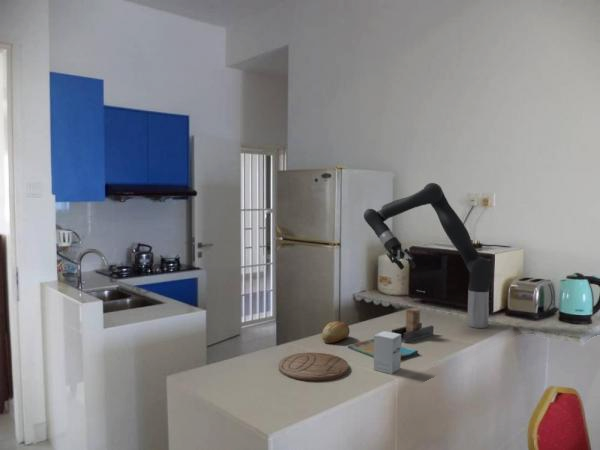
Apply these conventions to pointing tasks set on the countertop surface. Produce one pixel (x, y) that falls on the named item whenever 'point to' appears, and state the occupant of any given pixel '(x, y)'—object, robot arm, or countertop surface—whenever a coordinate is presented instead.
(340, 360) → the trivet
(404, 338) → the floor track
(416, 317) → the tan wooden pillar block
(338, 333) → the bread roll
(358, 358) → the countertop surface
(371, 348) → the dish towel
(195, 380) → the countertop surface
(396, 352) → the supplement box
